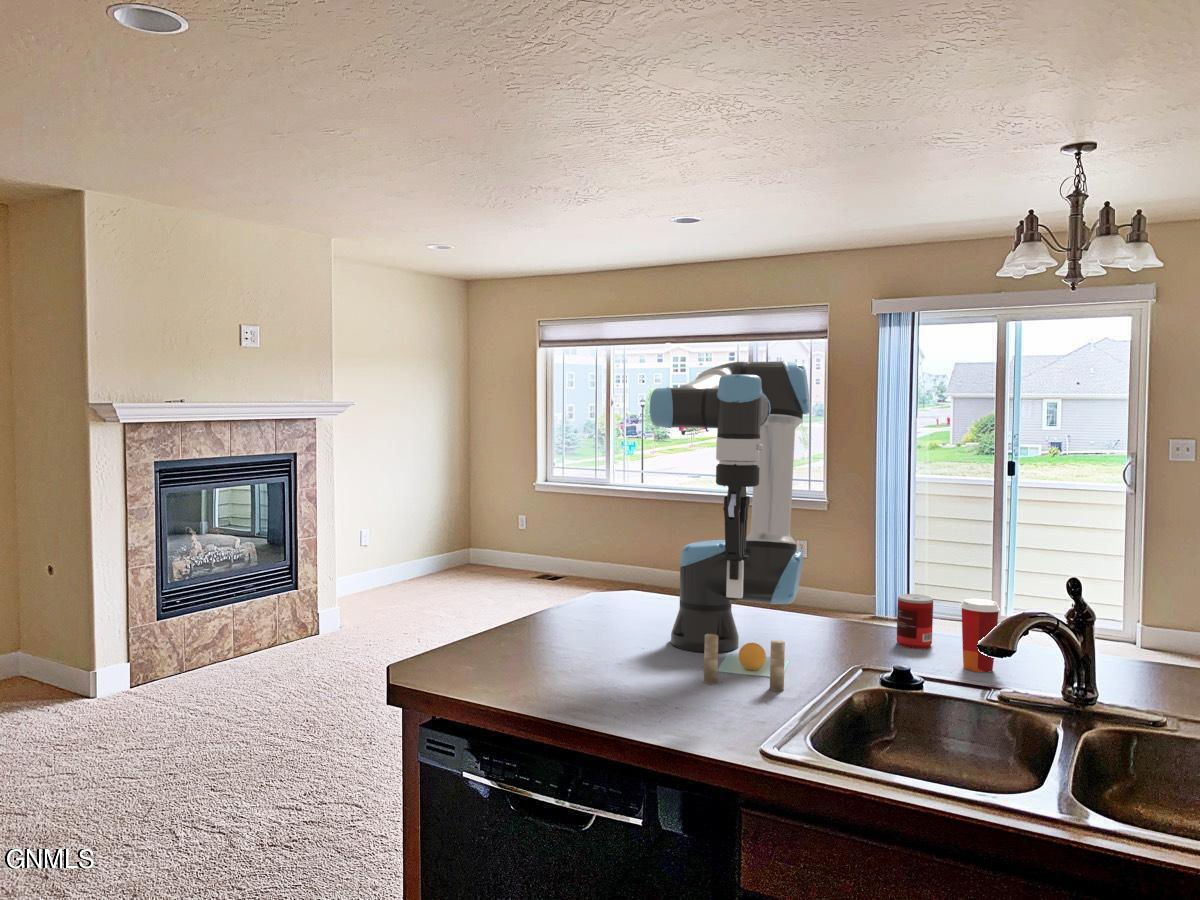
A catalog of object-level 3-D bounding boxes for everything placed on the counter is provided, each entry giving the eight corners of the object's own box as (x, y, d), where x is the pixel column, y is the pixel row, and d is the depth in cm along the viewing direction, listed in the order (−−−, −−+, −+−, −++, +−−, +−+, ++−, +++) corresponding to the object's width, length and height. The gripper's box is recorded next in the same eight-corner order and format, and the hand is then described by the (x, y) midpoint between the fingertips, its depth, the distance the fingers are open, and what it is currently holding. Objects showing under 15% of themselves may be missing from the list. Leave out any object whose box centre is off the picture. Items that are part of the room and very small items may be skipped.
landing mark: (716, 671, 178) (716, 670, 178) (727, 655, 190) (727, 654, 190) (782, 678, 174) (782, 677, 174) (789, 661, 186) (789, 660, 186)
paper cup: (998, 666, 186) (1000, 600, 185) (997, 675, 179) (1000, 607, 178) (958, 661, 189) (960, 596, 188) (956, 670, 182) (958, 603, 181)
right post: (768, 690, 166) (770, 642, 166) (770, 686, 168) (771, 639, 168) (782, 691, 165) (784, 644, 165) (784, 687, 168) (785, 640, 167)
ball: (741, 639, 183) (740, 665, 183) (736, 644, 178) (736, 671, 177) (768, 641, 181) (767, 668, 181) (764, 647, 176) (763, 674, 176)
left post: (702, 682, 170) (703, 636, 169) (705, 679, 172) (706, 633, 172) (715, 684, 169) (717, 637, 169) (718, 680, 171) (719, 634, 171)
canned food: (931, 642, 205) (932, 595, 205) (932, 650, 198) (933, 601, 197) (896, 639, 208) (897, 592, 207) (896, 647, 200) (897, 599, 200)
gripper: (754, 465, 147) (750, 606, 148) (764, 462, 160) (761, 592, 161) (709, 463, 150) (706, 602, 151) (723, 461, 162) (720, 588, 163)
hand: (734, 596), depth 156 cm, fingers closed
